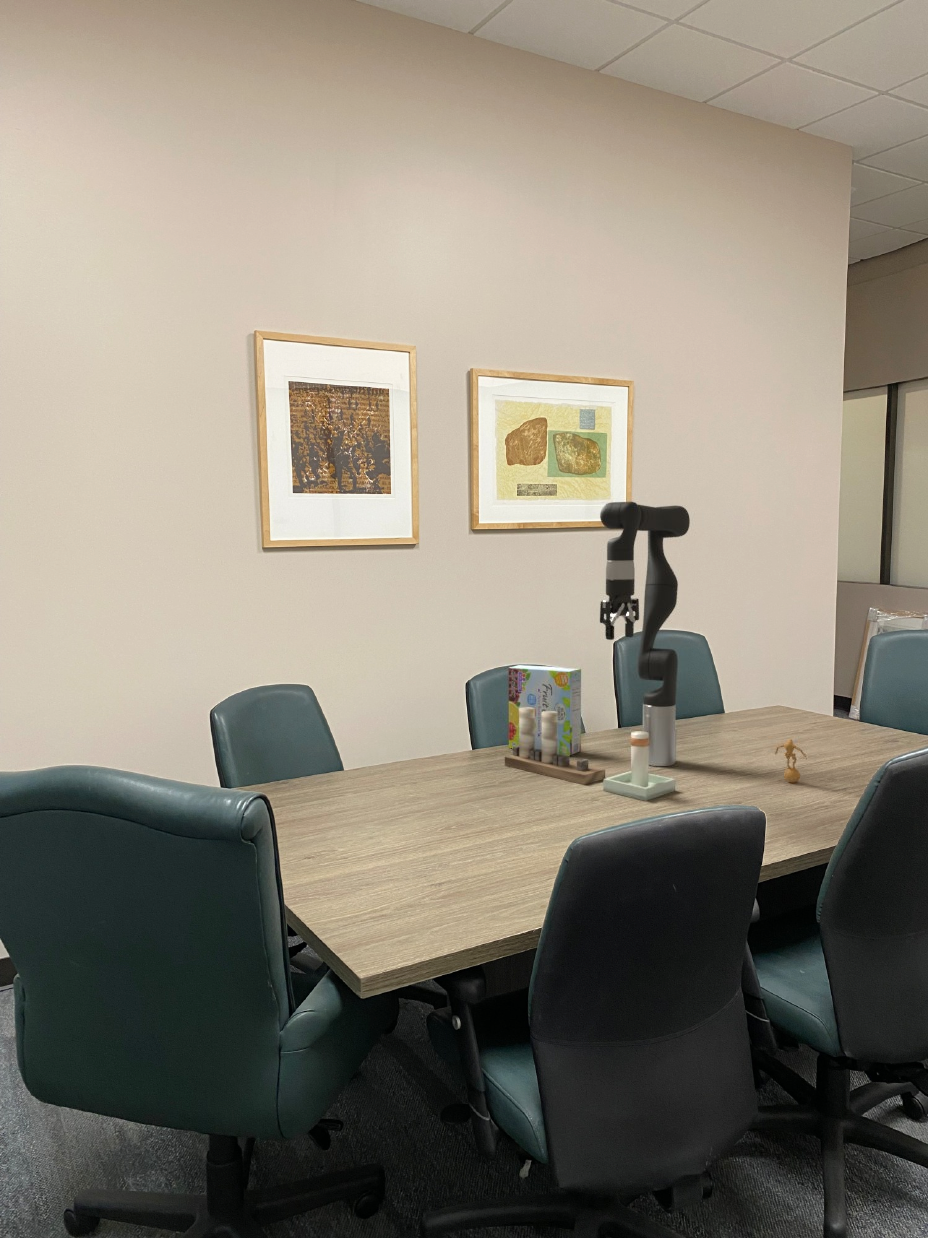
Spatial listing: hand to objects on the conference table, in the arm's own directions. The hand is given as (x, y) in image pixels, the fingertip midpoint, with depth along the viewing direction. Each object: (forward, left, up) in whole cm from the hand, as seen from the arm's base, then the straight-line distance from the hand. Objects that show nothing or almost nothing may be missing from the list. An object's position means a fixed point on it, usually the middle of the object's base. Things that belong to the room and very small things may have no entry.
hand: (619, 638), depth 234 cm
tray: (+6, +11, -38) cm, 40 cm away
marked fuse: (+6, +11, -37) cm, 39 cm away
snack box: (-11, -36, -38) cm, 54 cm away
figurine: (-28, +35, -38) cm, 59 cm away
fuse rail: (+7, -17, -38) cm, 42 cm away
